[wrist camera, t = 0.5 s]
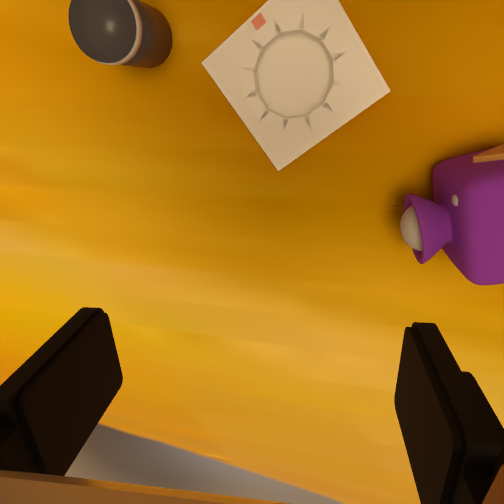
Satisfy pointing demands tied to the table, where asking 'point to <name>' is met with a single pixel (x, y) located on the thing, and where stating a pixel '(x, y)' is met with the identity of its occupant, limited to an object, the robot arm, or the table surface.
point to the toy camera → (462, 216)
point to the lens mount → (295, 75)
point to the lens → (120, 32)
